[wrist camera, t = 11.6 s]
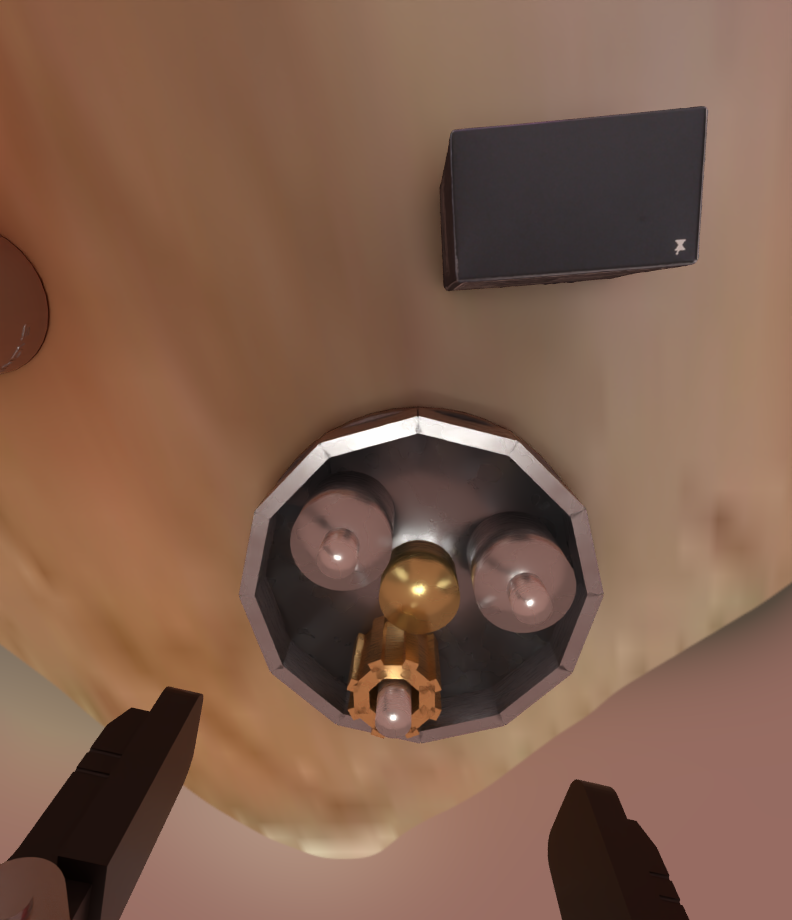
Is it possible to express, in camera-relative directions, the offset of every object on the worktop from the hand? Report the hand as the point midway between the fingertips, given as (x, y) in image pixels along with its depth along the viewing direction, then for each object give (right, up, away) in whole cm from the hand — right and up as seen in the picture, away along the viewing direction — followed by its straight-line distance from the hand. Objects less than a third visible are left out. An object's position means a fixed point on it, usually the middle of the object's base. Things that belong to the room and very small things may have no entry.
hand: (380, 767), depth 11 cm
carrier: (+2, -1, +27) cm, 28 cm away
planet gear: (0, -8, +28) cm, 29 cm away
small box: (+8, +20, +21) cm, 31 cm away
